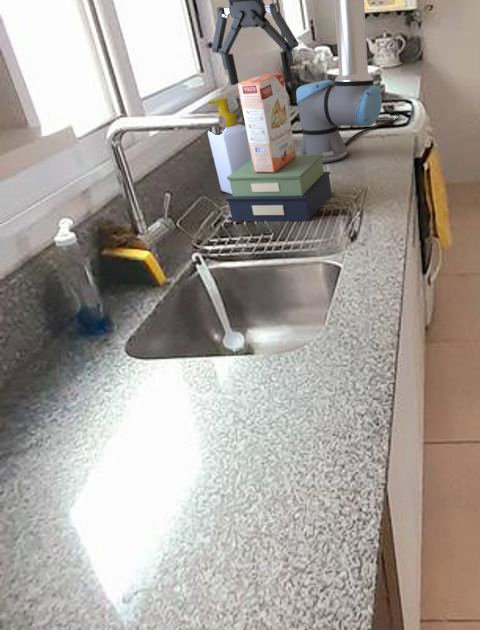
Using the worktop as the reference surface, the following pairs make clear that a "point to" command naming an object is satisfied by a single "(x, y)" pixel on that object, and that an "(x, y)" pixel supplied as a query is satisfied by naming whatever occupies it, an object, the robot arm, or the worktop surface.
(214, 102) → the soap bottle
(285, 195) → the box stack
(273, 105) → the cracker box
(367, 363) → the worktop surface
